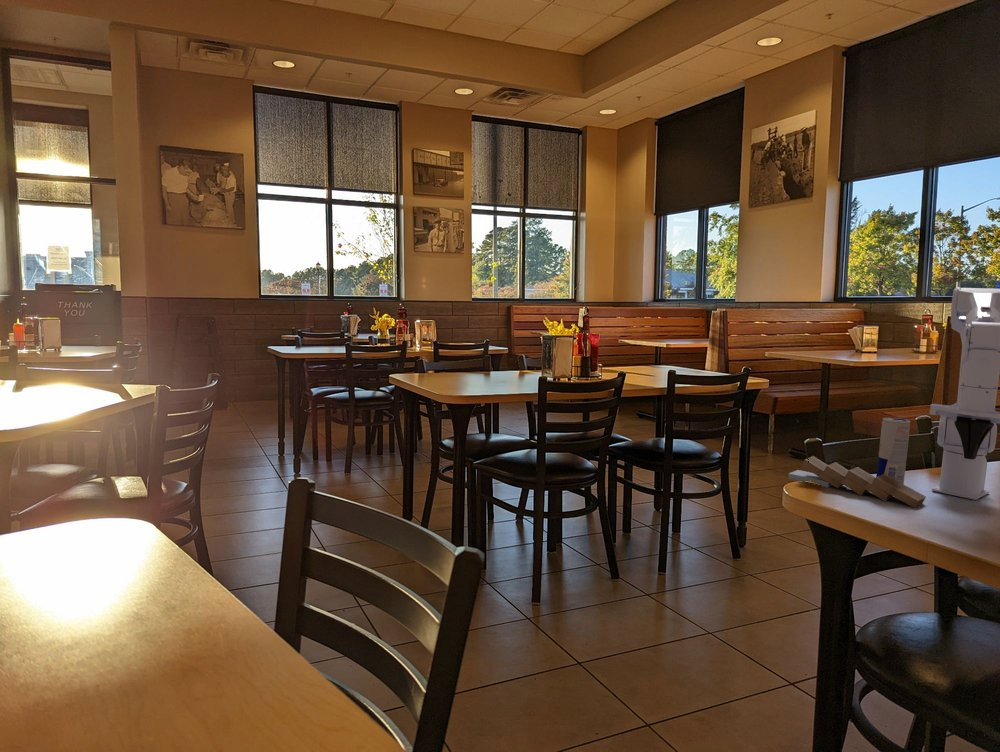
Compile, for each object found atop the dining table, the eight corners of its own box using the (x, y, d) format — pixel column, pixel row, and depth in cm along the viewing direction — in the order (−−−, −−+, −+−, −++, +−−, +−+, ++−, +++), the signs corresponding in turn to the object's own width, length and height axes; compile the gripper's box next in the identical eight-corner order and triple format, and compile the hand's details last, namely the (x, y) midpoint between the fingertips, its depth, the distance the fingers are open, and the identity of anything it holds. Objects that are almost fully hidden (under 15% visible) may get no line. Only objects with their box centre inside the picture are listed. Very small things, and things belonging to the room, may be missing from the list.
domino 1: (836, 485, 148) (797, 476, 154) (837, 478, 148) (798, 469, 154) (827, 489, 145) (788, 480, 151) (828, 482, 145) (788, 473, 151)
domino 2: (845, 484, 146) (809, 461, 151) (849, 478, 146) (813, 455, 151) (837, 488, 143) (801, 465, 148) (841, 482, 142) (804, 459, 147)
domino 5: (922, 503, 135) (880, 480, 141) (926, 496, 135) (883, 474, 140) (914, 507, 132) (871, 484, 138) (918, 501, 132) (875, 477, 137)
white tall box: (895, 486, 148) (903, 417, 146) (907, 493, 143) (915, 421, 141) (871, 484, 148) (878, 416, 146) (881, 491, 143) (889, 420, 141)
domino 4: (892, 496, 139) (853, 473, 145) (896, 490, 139) (857, 466, 144) (884, 501, 136) (845, 476, 141) (888, 494, 136) (848, 470, 141)
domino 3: (869, 491, 143) (831, 468, 148) (873, 485, 142) (835, 462, 147) (861, 495, 139) (823, 471, 144) (865, 489, 139) (826, 465, 144)
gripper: (927, 382, 131) (919, 453, 132) (1020, 393, 120) (1010, 469, 121) (940, 380, 135) (932, 448, 137) (1031, 390, 124) (1021, 464, 126)
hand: (969, 458), depth 130 cm, fingers closed
